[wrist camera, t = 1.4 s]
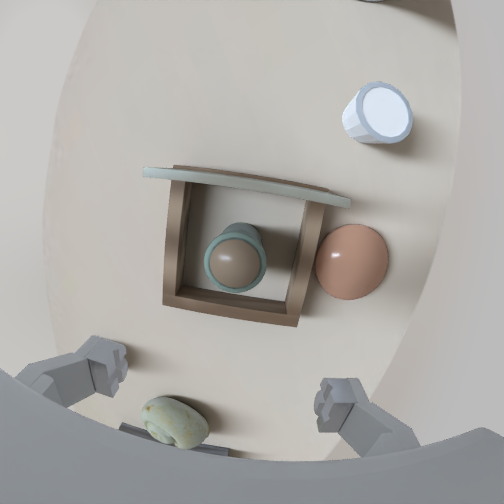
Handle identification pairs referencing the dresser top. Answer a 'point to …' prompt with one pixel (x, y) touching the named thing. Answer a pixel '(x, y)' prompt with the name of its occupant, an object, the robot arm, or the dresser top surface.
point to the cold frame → (227, 302)
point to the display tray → (148, 436)
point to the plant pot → (236, 259)
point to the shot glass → (378, 115)
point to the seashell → (174, 422)
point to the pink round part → (351, 261)
